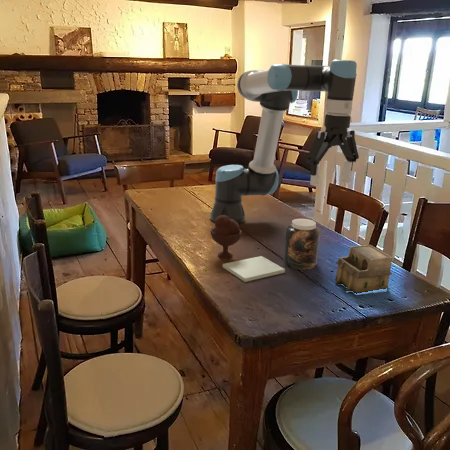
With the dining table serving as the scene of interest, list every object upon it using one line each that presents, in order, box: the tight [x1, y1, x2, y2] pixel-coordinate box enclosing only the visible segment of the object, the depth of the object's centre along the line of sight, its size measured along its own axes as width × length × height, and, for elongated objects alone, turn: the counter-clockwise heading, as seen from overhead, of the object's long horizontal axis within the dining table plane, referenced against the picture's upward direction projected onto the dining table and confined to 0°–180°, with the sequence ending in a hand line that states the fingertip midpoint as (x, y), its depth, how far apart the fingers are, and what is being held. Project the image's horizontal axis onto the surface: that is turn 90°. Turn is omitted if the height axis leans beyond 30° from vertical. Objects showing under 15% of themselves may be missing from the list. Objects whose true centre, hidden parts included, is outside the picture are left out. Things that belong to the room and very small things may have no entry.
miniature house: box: [334, 244, 393, 294], centre depth 155 cm, size 15×14×11 cm
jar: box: [283, 218, 321, 271], centre depth 169 cm, size 12×12×15 cm
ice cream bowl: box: [210, 215, 243, 260], centre depth 173 cm, size 11×11×15 cm
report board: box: [222, 255, 286, 283], centre depth 164 cm, size 16×13×1 cm
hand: (330, 183), depth 155 cm, fingers open, 13 cm apart
